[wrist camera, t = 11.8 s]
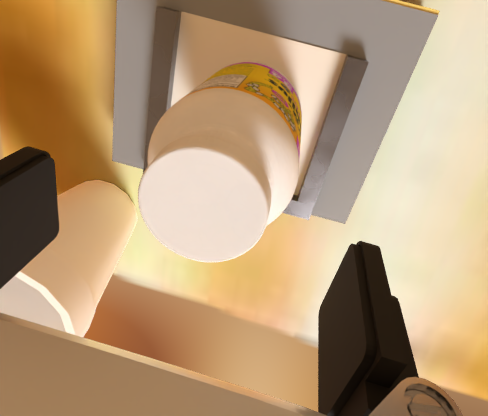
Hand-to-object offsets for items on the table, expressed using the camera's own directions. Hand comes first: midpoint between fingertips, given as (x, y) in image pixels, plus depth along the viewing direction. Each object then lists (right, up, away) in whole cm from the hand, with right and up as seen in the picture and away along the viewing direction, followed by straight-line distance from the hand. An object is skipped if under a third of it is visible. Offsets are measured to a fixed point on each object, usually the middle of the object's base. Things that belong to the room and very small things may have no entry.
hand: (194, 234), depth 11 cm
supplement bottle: (+2, +7, +13) cm, 15 cm away
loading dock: (+2, +9, +15) cm, 18 cm away
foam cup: (-11, +1, +22) cm, 25 cm away
